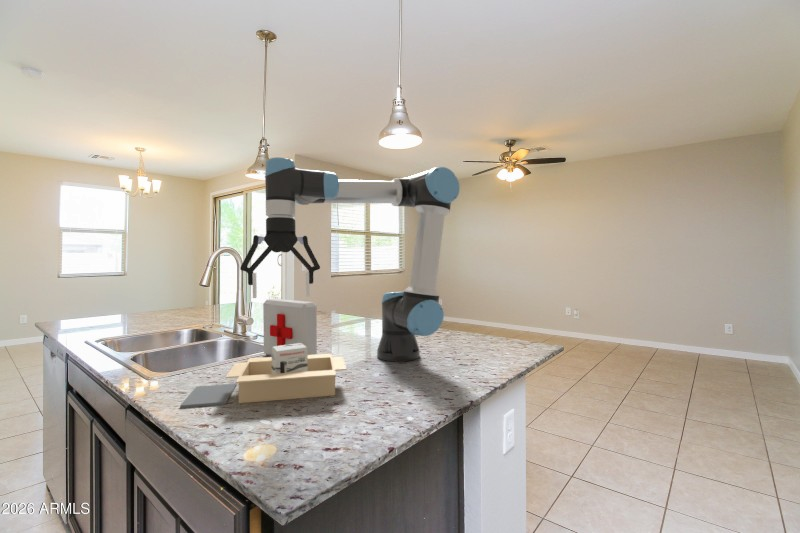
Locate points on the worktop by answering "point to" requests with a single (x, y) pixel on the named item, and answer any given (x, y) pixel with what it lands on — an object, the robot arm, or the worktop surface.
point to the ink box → (289, 358)
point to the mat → (209, 395)
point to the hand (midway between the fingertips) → (281, 296)
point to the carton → (286, 379)
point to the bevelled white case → (289, 324)
